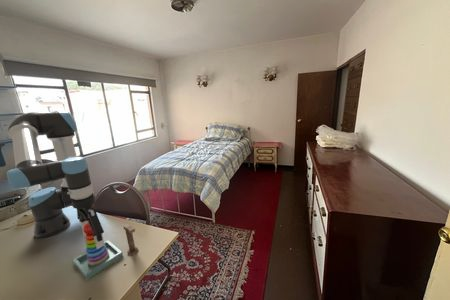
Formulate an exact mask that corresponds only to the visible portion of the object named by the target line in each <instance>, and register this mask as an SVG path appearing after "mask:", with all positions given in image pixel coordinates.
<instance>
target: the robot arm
mask: <svg viewBox="0 0 450 300" xmlns="http://www.w3.org/2000/svg"><path fill="white" fill-rule="evenodd" d="M7 128H8V129H7V134H8V137H9V138H10V139H12V149H13V156H14V157H13V158H14V166H15V168H12V169H9V170H7V171H6V178H7V181H8V184H9V186H10V188H11V189H12V190H13V189H14V190H18V189H25V188H30V187H34V186H37V185H43V184H47V183H49V182H50V183H51V182H54V181H58V180H62V182H61V184H60V188H57V187H55V186H50V187H46V188H43V189H40V190H38V191H36V192H33V193H32V194H30V195H29V196H28V200H27V201H28V206H29V208H30V211H31V213H32V218H33V219H34V227H33V228H34V230H33V235H34V237H35V238H37V239H43V238H48V237H53V236H55V235H58V234H60V233H61V232H63V231H64V230H65V231H66V229H67V228H68V227H70V225H71V222H70V218H69V217H68V216H66V214H65V213H64V212H63V211H64V210H63V209H66V208H70V207H72V208H73V209H76V215H77V220H78V221H79V223H80V227H81V231H82V235H83V236H84V237H85V235H86V233H84V231H83V228H84V226H85V225H86V224H87V223H88V222H89V224H90V227H91V229H92V231H93V233H94V235H93V237H94V240H95V244H96V247H97V249H99V248H100V247H102V246H104V245H105V244H104V242H105V240H104V236H103V233H105V231H104V229H103V226H102V223H101V222H100V219H99V217H98V214H97V210H96V209H94V207H93V206H92V205H94V203H96V197H95V193H94V186H93V183H92V180H91V177H90V176H91V175H90V171H89V167H88V166H89V164H88V163H87V160H86V158H85V157H83V156H77V152H76V148H75V144H74V139H73V138H74V137H75V133H76V132H77V131H78V128H77V126H76V122H75V121H74V118H73V116H72V114H71V112H69V111H66V110H55V111H54V110H53V111H52V110H51V111H37V112H33V111H32V112H26V113H23V114H21V115H20V116H17V117H16V118H15V119H13V120H12V121H11V122H10V124H9V126H8V127H7ZM39 136H46V139H48V140H49V141H51V142H52V146H53V149H54V153H55V158H56V160H55V161H51V162H44V163H43V160H42V155H41V151H40V147H39V143H38V137H39Z"/></svg>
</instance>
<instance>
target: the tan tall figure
mask: <svg viewBox="0 0 450 300" xmlns="http://www.w3.org/2000/svg"><path fill="white" fill-rule="evenodd" d="M123 230H125V234H126V241H127V245H128V249H127V252H126V253H127V256H134V255H136V254H137V253H138V252H139V248H138V247H137V246H136V245H135V240H134V236H133V233H135V232H136V228H135V227H133V226H132V225H131V224H129V223H127V224H124V225H123Z"/></svg>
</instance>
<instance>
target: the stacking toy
mask: <svg viewBox="0 0 450 300" xmlns="http://www.w3.org/2000/svg"><path fill="white" fill-rule="evenodd" d="M83 231H84V233H86V235H85V236H84V238H85V243H86V245H85V246H86V248H85V253H86V252H87V253H86V254H87V259H88V260H87V263H88V265H90V266H96V265H99V264H101V263H103V262H104V261H105V260H106V259H107V258H108V256H109V252H108V249H107V248H106V246H105V245H104V246H102V247H100V248H99V249H97V247H96V244H95V240H94V237H93V235H94V233H93V231H92V229H91V227H90V224H89V222H88V223H87V224H86V225H85V226H84V228H83ZM83 231H82V232H83Z"/></svg>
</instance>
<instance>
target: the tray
mask: <svg viewBox="0 0 450 300" xmlns="http://www.w3.org/2000/svg"><path fill="white" fill-rule="evenodd" d="M104 244H105V246H106V248H107V249H108V252H109V256H108V258H107V259H106V260H105V261H104V262H103V263H101V264H99V265H96V266H90V265H88V263H87V260H88V259H87V254H86V253H87V251H85V252H84V253H83V254H81V255H79V256H77V257H75V258H73V259H72V260H73V264H74V265H75V267H76V268H77V270H78V271H79V272H80V273H81V275H82V276H83V277H84V279H85V280H86V281H89V280H90V279H92V278H93V277H95V276H97V275H98V274H99V273H100V272H102V271H104V270H106V269H107V268H108V267H109V266H111V265H113V264H114V263H115V262H117V261H118V260H120V259H122V258H123V257H124V254H123V252H122V250H120V248H118V247H116V246H115V245H114V244H113V243H112V242H111V241H110V240H108V239H107V240H106V241H105V240H104Z"/></svg>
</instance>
